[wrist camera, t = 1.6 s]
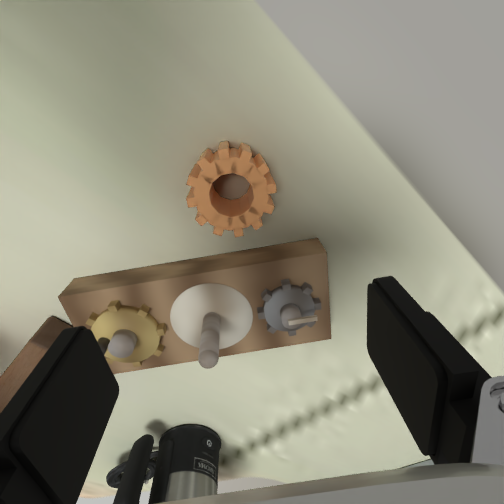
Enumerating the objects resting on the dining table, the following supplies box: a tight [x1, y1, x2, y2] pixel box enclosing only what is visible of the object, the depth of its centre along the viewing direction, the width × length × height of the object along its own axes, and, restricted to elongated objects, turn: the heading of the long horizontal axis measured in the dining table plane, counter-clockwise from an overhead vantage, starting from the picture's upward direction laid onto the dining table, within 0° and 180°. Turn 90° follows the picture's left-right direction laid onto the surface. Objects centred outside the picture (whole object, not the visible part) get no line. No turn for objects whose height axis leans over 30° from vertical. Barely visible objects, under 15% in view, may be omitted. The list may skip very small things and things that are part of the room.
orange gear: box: [186, 141, 277, 237], centre depth 28 cm, size 7×7×5 cm
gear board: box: [58, 238, 331, 374], centre depth 31 cm, size 27×11×10 cm, turn 99°
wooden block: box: [0, 316, 72, 413], centre depth 29 cm, size 9×4×18 cm, turn 138°
